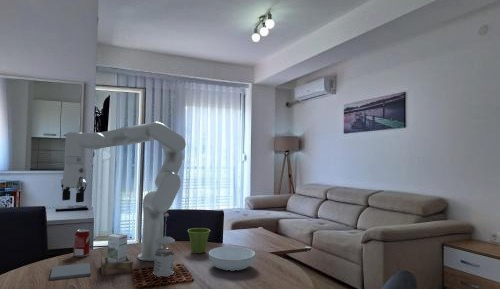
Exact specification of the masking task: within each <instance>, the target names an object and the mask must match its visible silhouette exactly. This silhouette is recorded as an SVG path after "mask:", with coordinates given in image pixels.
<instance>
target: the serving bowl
mask: <svg viewBox="0 0 500 289" xmlns="http://www.w3.org/2000/svg"><path fill="white" fill-rule="evenodd" d="M255 256H256V252H255V251H254V250H253V249H250V248H247V247H242V246H219V247H214V248H212V249H210V250H209V251H208V257H209V258H208V259H209V261H210V262H211V263H210V264H212V265H213V266H214V267H215V268H217V269H220V270H224V271H228V270H230V271H229V272H234V271H235V270H237V271H241V270H244V269H245V270H246V269H247V268H249V267H250V266H251V265H252V264H253V262H254V260H255ZM235 272H236V271H235Z"/></svg>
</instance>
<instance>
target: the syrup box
mask: <svg viewBox="0 0 500 289" xmlns="http://www.w3.org/2000/svg"><path fill="white" fill-rule="evenodd" d="M107 240H108V241H107V255H106V257H107V264H108V263H118V262H126V255H128V254H127V253H128V252H127V251H128V248H127V247H128V234H125V233H124V234H123V233H119V232H117V233H111V234H109V235H108V236H107Z"/></svg>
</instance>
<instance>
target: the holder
mask: <svg viewBox="0 0 500 289" xmlns="http://www.w3.org/2000/svg"><path fill="white" fill-rule="evenodd" d="M133 265H134V263H133V260H132V257H131V256H130V254H126V262H118V263H108V264H107V256H102V257H101V258H100V271H101V274H102V275H107V276H108V275H114V274H115V275H116V274H122V273H124V274H125V273H131V272H133Z"/></svg>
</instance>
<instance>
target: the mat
mask: <svg viewBox="0 0 500 289" xmlns="http://www.w3.org/2000/svg"><path fill="white" fill-rule="evenodd" d="M90 264H91V263H90V262H87V263H85V262H84V263H77V264H65V265H55V266H52V267H51V271H50V276H49V281H55V280H56V281H57V280H64V279H72V278H74V279H75V278H80V277H81V278H82V277H90V276H91V275H92V272H91V265H90Z"/></svg>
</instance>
